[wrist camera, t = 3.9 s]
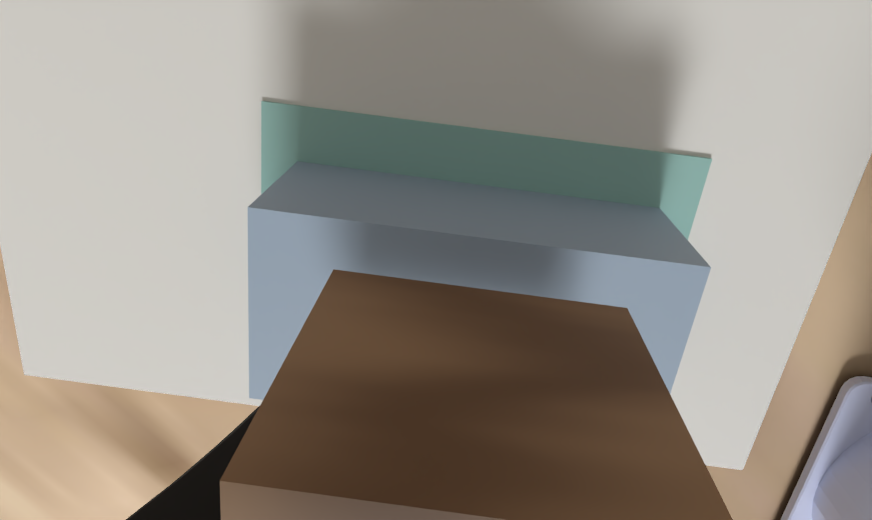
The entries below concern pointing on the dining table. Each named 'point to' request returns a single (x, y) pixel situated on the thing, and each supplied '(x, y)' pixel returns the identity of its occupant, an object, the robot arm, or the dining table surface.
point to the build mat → (417, 159)
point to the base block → (461, 252)
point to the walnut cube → (465, 414)
